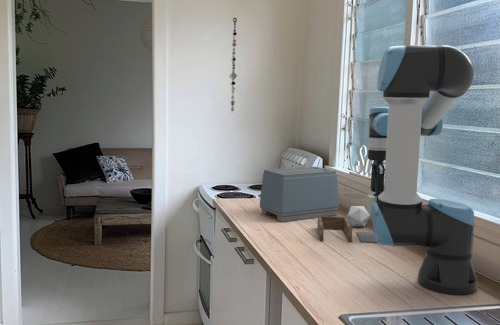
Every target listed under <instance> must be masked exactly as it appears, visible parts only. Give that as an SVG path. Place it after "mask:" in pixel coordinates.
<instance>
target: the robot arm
mask: <svg viewBox="0 0 500 325" xmlns="http://www.w3.org/2000/svg"><path fill="white" fill-rule="evenodd" d="M474 76H475V73H474V67H473V63H472V62H471V60H470V58H469V57H468V56H467V54H465V53H464V52H463V51H462V50H460V49H459V48H457V47H454V46H451V45H445V44H443V45H442V44H441V45H414V44H413V45H408V44H407V45H406V44H403V45H395V46H394V45H393V46H390V47H386V49H385V51H384V52H383V55H382V57H381V60H380V65H379V69H378V76H377V87H376V88H377V90H378V91H379V92H383V93H382V99H383V100H385V102H386V103H387V104H388V105H387V106H371V107H370V109H369V115H368V118H369V121H368V122H369V123H368V124H369V125H368V126H369V129H368V137H367V138H368V139H367V141H368V142H367V147H368V151H367V159H368V160H369V161H373V162H372V163H371V164H370V166H371V174H370V175H371V177H370V188H369V189H370V191H371V193H370V194H373V196H374V203H373V204H372V209H371V213H372V214H371V222H372V230H373V232H374V235H375V238H376V241H377V242H378V243H377V244H379V245H382V246H389V247H390V246H391V247H393V248H394V247H411V248H425V255H424V257H423V260H422V262H421V265H420V267H419V270H418V271H417V272H418V273H417V282H418V283H419V284H420V285H421V286H422V287H424V288H426V289H428V290H430V291H434V292H438V293H442V294H447V295H467V294H468V295H469V294H473V293H475V292H476V291H477V290H478V289H477V288H478V279H477V276H476V272H475V269H474V268H475V267H474V264H473V262H472V254H473V242H474V241H473V239H474V228H475V226H476V225H475V212H474V210H473V209H472V207H471V206H469V205H466V204H464V203H461V202H456V201H452V200H448V199H443V198H430V199H429V200H428V202H427V204H423V198H422V197H421V196H420V195H419V194H418V181H419V180H418V178H419V165H420V164H419V163H420V150H421V149H420V147H421V136H426V137H430V136H439V135H441V132H442V129H443V126H444V122H443V121H444V119H443V118H444V116H445V114H446V113H447V112H448V110H449V109H450V108H451V107H452V105H453V104H454V102H455V101H456V100H457V98H460V97H462V96H464V95H465V93H467V91H468V90H469V89H470V88H471V86H472V85H473V81H474ZM384 161H385V165H384Z"/></svg>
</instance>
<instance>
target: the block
mask: <svg viewBox="0 0 500 325" xmlns="http://www.w3.org/2000/svg"><path fill="white" fill-rule="evenodd" d="M366 196H367V197H366V210H367V212H368V213H369V215H372V213H371V209H372V204H373V203H374V196H373V194H371V193H370V194H369V193H368V194H367V195H366Z"/></svg>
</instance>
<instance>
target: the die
mask: <svg viewBox="0 0 500 325" xmlns="http://www.w3.org/2000/svg"><path fill="white" fill-rule="evenodd" d="M346 217H347V219H348V221H349V223H350V225H351V227H352V228H357V227H358V228H359V227H360V228H361V227H362V228H363V227H366V226H367V223H368V221H369V218H370V217H371V214H369V213H368V211H367V208H366V207H365V206H364V205H350V208H349V210H348V212H347V215H346Z"/></svg>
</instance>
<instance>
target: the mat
mask: <svg viewBox="0 0 500 325" xmlns="http://www.w3.org/2000/svg"><path fill="white" fill-rule="evenodd" d="M356 235H357V237H358V239H359V241H360V243H364V244H365V243H367V244H369V243H370V244H371V243H372V244H379V243H378V242H377V241H376V238H375V235H374V231H373V232H372V231H371V232H369V231H368V232H367V231H356Z"/></svg>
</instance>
